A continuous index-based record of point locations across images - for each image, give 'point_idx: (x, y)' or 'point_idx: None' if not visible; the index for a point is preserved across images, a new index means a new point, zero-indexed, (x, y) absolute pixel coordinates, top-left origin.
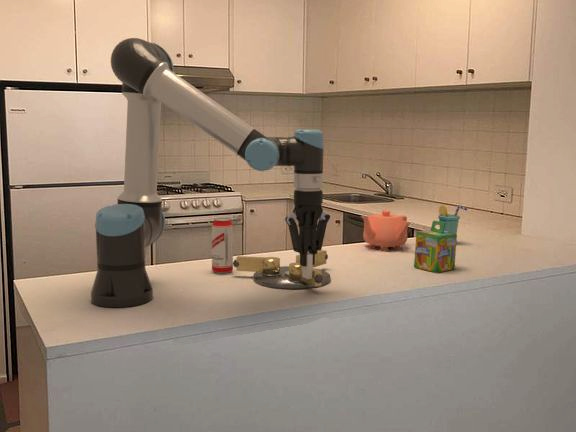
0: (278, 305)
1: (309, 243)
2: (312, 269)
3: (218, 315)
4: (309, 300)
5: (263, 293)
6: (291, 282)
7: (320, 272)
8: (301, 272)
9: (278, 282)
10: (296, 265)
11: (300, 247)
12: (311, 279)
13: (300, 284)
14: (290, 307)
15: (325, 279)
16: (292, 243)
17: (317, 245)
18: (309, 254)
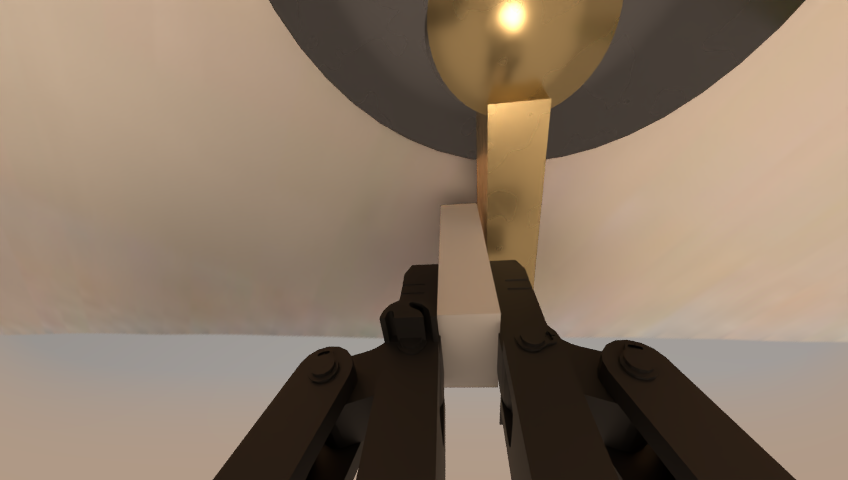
0: (274, 303)
1: (518, 470)
2: (505, 257)
3: (67, 310)
4: None
5: (239, 134)
6: (427, 70)
7: None
8: (482, 129)
9: (344, 30)
10: (481, 54)
11: (341, 474)
12: None
13: (455, 142)
14: (309, 332)
15: (672, 96)
16: (237, 460)
17: (635, 437)
18: (467, 380)
